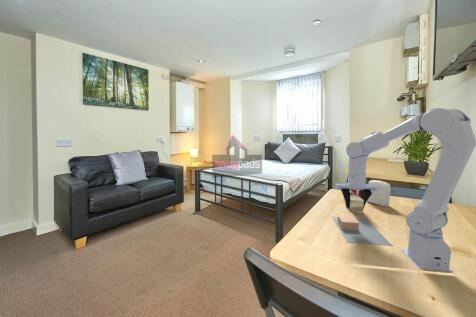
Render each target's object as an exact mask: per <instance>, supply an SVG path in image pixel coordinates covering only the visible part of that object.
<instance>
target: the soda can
mask: <svg viewBox="0 0 476 317" xmlns="http://www.w3.org/2000/svg"><path fill="white" fill-rule="evenodd" d="M350 193H351V196H355V197H360V190H350ZM356 214H362V213H356Z"/></svg>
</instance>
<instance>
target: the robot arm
mask: <svg viewBox="0 0 476 317" xmlns="http://www.w3.org/2000/svg"><path fill="white" fill-rule="evenodd" d="M471 123H472V119H471V118H470V117H469V116H468V115H467V114H466V113H465V112H463V111H462V110H461V109H460V110H459V109H457V108H449V109H447V108H442V107H435V108H431V109H428V110H427V111H425V112H422V113H417V114H416V115H415V116H412V117H411V118H410V119H408V120H405V121H404V122H402V123H400V124H398V125H395V126H394V127H392V128H391V129H389V130H386V131H384V132H383V131H371V132H370V135H367V136H366V137H363V138H362V137H361V138H359V140H358V141H351V142H350V143H348V144H347V146H346V148H345V152H346V154H347V156H348V172H347V173H348V175H347V182H345V183H334V188H335V190H336V191H337V190H338V191H339V190H340V191H341V193H342V196H343V199H344V203H345V207H347V208H349V207H350V196H351V190H360V198H362V199H363V200H364V206H363V210H364V209H365V206H366V204H367V202H368V201H367V200H368V199H369V197H370V196H371V195H372V192H371V190H374V191H378V186H377V185H370V184H368V183H366V174H367V173H366V172H367V161H368V157H369V155H371V154H372V153H374V152H377V151H379V150H382V149H383V148H387V147H388V146H389V145H390V142H391V141H394V140H396V139H398V138H402V137H404V136H406V135H409V134H413V133H415V132H416V131H418V132H419V131H426V132H427V133H429V134H431V135H432V136H434V137H436V138H437V140H438V141H439V142H440V143H441V144H442V145H443V147H444V148H443V150H442V152H441V154H440V158H439V160H438V161H437V164H436V166H435V170H434V171H433V174H432V176H431V178H430V180H429V183H428V185H427V187H426V190H425V192H424V195H423V197H422V199H421V200H420V201H419V202H418V203H417V204H416V205H415V206H414V209H413V210H412V211H411V212H409V213H408V214H407V215H406V218H405V222H406V225H407V227H408V228H409V231H408V241H407V243H408V244H407V249H402V248H401V249H400V251H401V252H402V253H403V254H404V256H406V258H408V259H409V260H410V261H411V262H412V263H413V264H414V265H415V266H416V267H417V268H418V269H420V270H428V271H429V270H430V271H439V272H451V273H453V269H451V268H450V262H451V255H452V249H451V248H450V246H449V244H447V243H446V241H445V240H444V236H443V234H444V233H443V230H442V228H444V227H445V226H446V225H448V222H449V218H448V212H449V210H450V208H449V206H448V204H449V202H450V199H451V198H452V195H453V193H454V192H455V189H456V187H457V184H458V183H459V180H460V179H461V177H462V174H464V173H463V172H464V170H465V168H466V166H467V164H468V162H469V160H470V158H471V156H472V154H473V152H474V149H475V148H476V137H475V133H474V132H473V129H472V128H473V127H472V125H471ZM347 208H346V209H347Z"/></svg>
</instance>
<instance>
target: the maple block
mask: <svg viewBox="0 0 476 317" xmlns="http://www.w3.org/2000/svg"><path fill="white" fill-rule="evenodd" d="M363 206H364V200H363V199H362V198H360V197H355V196H350V207H349V208H347V207H346V206H345V207H346V210H347V211H349V213H351V214H352V213H353V214H357V213H361V214H364V209H363ZM364 207H365V206H364Z"/></svg>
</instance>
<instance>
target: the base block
mask: <svg viewBox="0 0 476 317" xmlns="http://www.w3.org/2000/svg"><path fill="white" fill-rule="evenodd" d="M337 217H338V224H339V225H340V227H341V229H347V230H359V222H358V221H357V220H356V219H355V218H356V217H354V216H351V215H350V216H349V215H338V216H337Z"/></svg>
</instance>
